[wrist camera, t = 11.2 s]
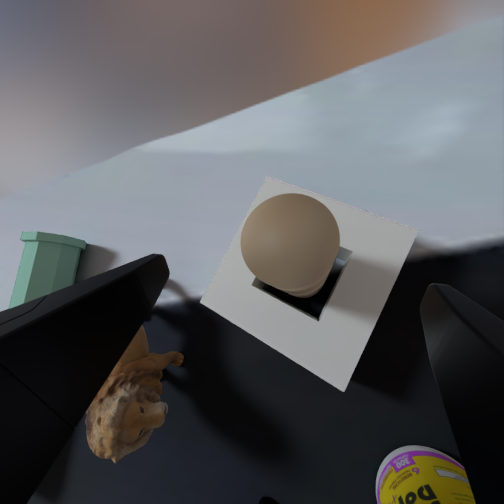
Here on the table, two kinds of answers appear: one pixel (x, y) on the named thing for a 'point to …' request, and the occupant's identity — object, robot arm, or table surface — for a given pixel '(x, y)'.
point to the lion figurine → (129, 401)
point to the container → (45, 265)
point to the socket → (338, 303)
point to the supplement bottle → (422, 478)
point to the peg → (291, 243)
